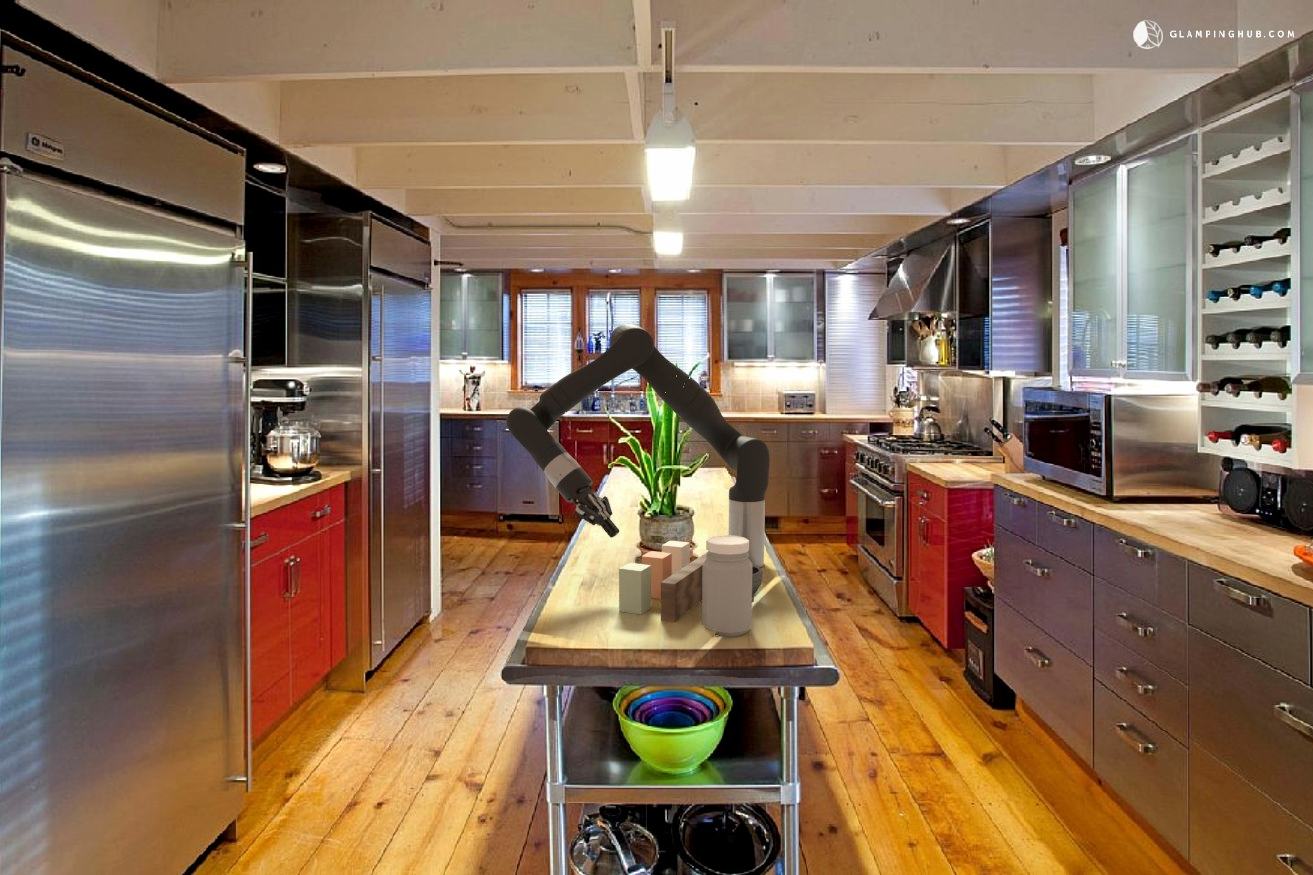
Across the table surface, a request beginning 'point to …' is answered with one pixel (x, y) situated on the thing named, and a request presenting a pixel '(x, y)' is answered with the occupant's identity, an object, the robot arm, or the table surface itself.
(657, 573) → the salmon block
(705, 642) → the table surface
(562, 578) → the table surface
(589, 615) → the table surface
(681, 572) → the brown wooden block
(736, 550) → the jar
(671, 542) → the beige block
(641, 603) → the sage block
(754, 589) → the mortar and pestle
